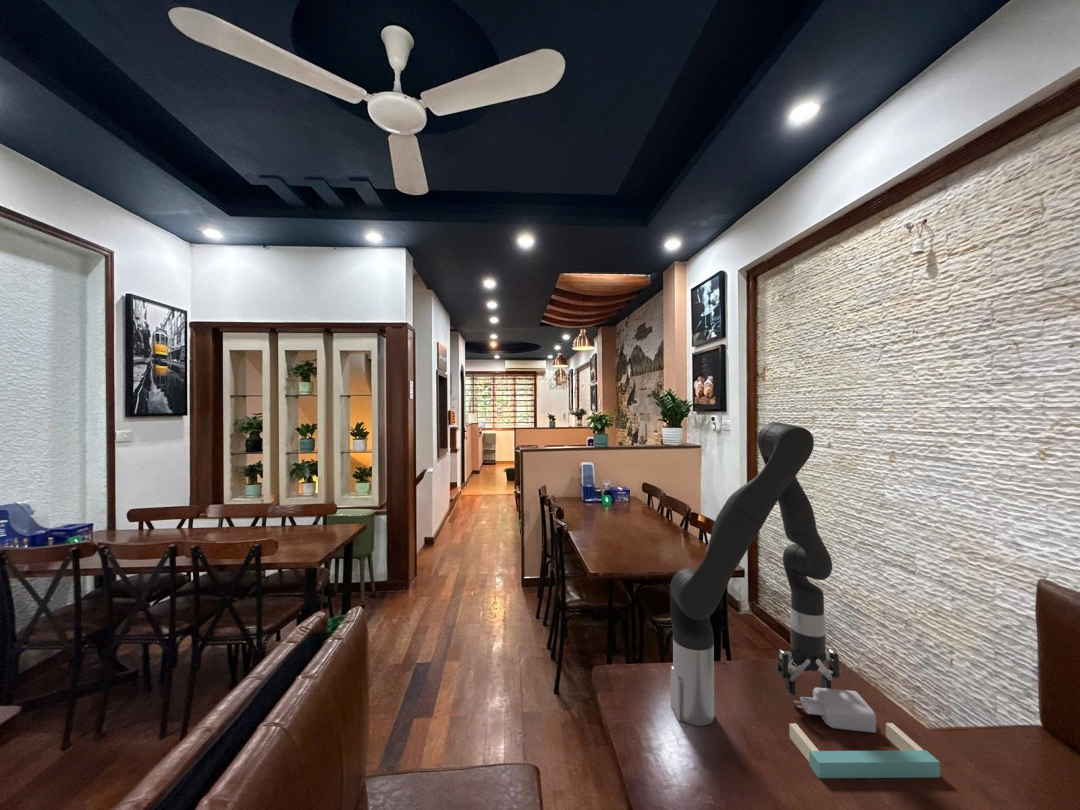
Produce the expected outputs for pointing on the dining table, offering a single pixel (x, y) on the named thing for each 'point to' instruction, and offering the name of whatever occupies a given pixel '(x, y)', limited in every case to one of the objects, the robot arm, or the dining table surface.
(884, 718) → the dining table surface
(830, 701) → the charger
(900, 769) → the stop bay
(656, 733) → the dining table surface
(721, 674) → the dining table surface
